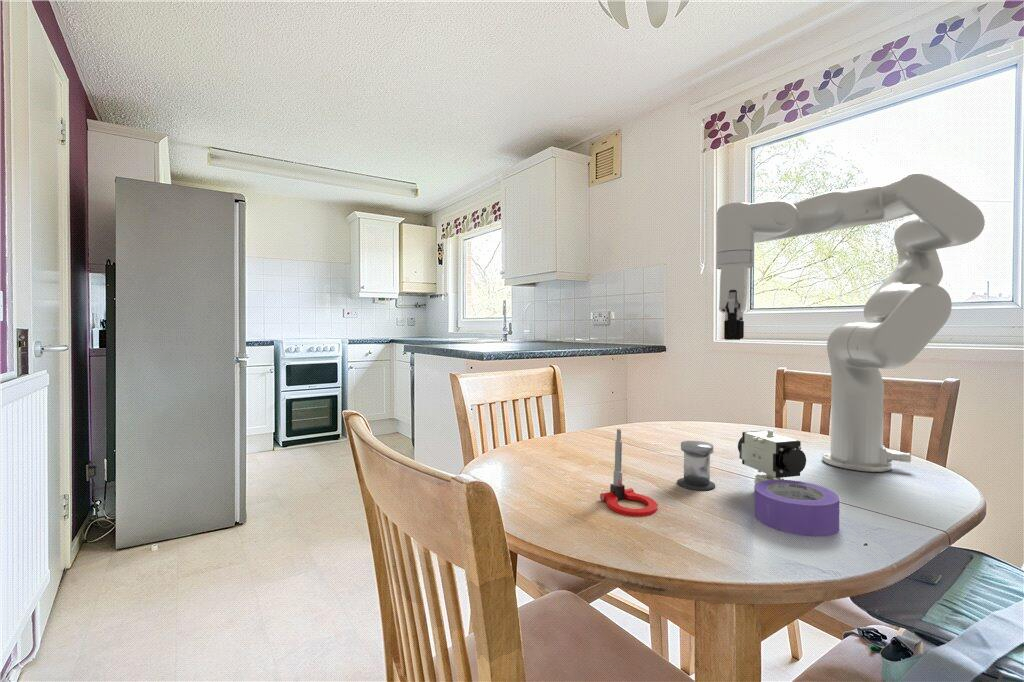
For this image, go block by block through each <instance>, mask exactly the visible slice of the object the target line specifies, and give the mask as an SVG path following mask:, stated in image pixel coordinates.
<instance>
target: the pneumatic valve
mask: <svg viewBox="0 0 1024 682" xmlns="http://www.w3.org/2000/svg"><path fill="white" fill-rule="evenodd" d="M737 450H738V452H739V455H738V456H739V457H738V458H739V459H740V460H741V464H742V465H743V466H747V467H749V468H752V469H754V470H757V472H758V473H764V474H756V475H755V479H754V485H755V484H756V483H758V482H761V481H765V480H785V479H784V478H793V477H800V476H801V472H803V470H804V469H805V467H806V465H807V456H806V454H805V452H804V451H803V450H802V445H801V440H797V439H793V438H790V437H787V436H783V435H779V434H775V433H774V430H771V429H768V430H767V431H765V430H754V431H752V430H751V431H742V435H741V437H740V438H739V440H738V443H737Z"/></svg>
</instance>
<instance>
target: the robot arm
mask: <svg viewBox="0 0 1024 682" xmlns="http://www.w3.org/2000/svg"><path fill="white" fill-rule="evenodd" d="M984 216H985V215H984V214H983V212H982V210H981V209H980V207H978V206H977V205H976V204H975V203H973V201H971V200H969V199H968V198H966V197H965V196H963V195H962V194H960V193H959V192H958V191H956V190H955V189H953V188H952V187H950V186H948V185H947V184H946V183H944V182H942V181H941V180H940V179H938V178H935V177H933V176H932V175H929V174H926V173H923V172H918V171H917V172H915V171H914V172H913V171H912V172H909V173H905V174H903V175H900V176H897V177H895V178H893V179H892V178H891V179H890V180H889V179H888V180H887V181H884V182H880V183H875V184H873V183H872V184H868V185H867V184H866V185H863V186H856V187H850V188H844V189H843V188H842V189H836V190H830V191H827V192H823V193H820V194H817V195H814V196H811V197H810V198H806V199H804V200H801V201H797V202H794V203H791V202H789V201H787V200H782V199H775V200H767V201H761V202H753V203H751V202H745V201H741V202H740V201H738V202H737V201H736V202H730V203H726V204H723V205H721V206H720V207H719V208H718V209H717V211H716V256H715V258H716V261H715V262H716V265H715V266H716V267H715V269H717V270H720V279H719V300H718V301H719V303H718V310H719V312H721V313H725V316H724V317H725V318H724V321H723V323H724V324H723V325H724V327H723V332H724V334H723V339H724V340H726V341H727V340H731V341H736V340H737V341H738V340H739V341H740V340H741V339H743V338H744V336H745V332H744V329H745V321H744V314H743V313H745V312H746V310H747V301H748V282H749V281H748V280H749V279H748V278H749V277H748V274H749V273H748V272H749V271H748V269H751V268H754V267H755V244H756V243H757V244H759V243H765V242H769V241H772V242H773V241H777V240H784V239H789V238H795V237H800V236H806V235H814V234H815V235H816V234H821V233H826V232H831V231H838V230H844V229H848V228H854V227H855V228H856V227H861V226H868V225H874V224H875V225H876V224H880V223H886V222H887V223H888V222H891V221H894V220H897V219H902V218H905V217H907V218H906V219H903V220H902V221H901V222H900V223H899V224H898V225H897V227H896V229H895V231H894V235H893V240H894V246H895V249H896V252H897V259H898V260H897V264H896V266H895V268H894V269H893V271H892V272H891V273H890V275H889V276H888V277H887V278H886V279H885V280H884V282H883V283H882V284H881V285H879V287H878V288H877V289H876V290H875V292H874V293H873V294H872V295H871V296H870V298H869V299H867V301H866V303H865V305H864V306H863V317H864V319H865V321H866V322H849V323H845V324H842V325H840V326H838V327H836V328H835V329H834V330H832V331H831V333H830V335H829V336H828V338H827V343H826V349H827V350H826V351H827V356H828V361H829V367H830V376H831V382H830V383H831V389H830V391H831V392H830V393H831V396H830V402H831V403H830V451H828V452H825V453H822V455H821V457H822V461H823V462H824V463H826V464H829V465H830V466H834V467H838V468H841V469H846V470H847V469H848V470H852V471H858V472H859V471H860V472H868V473H871V472H872V473H876V472H877V473H880V472H881V473H883V472H888V471H890V470H892V467H893V466H892V462H893V461H895V462H897V461H898V462H901V463H909V464H910V463H911V461H912V456H911V453H910V452H901V451H898V450H891V449H887V447H886V446H885V445H884V406H885V405H884V403H885V402H884V399H885V386H884V380H883V377H882V374H881V372H880V369H883V370H895V369H900V368H903V367H905V366H907V365H908V364H910V363H911V362H912V361H913V360H914V359H915V358H916V357H917V356H918V355H919V354H920V353H921V352H922V351H923V350H924V348H925V347H926V346H927V345H928V344H929V343H930V342H931V340H932V339H934V337H935V336H936V335H937V333H939V332H940V331H941V330H942V328H943V327H944V325H945V324H946V323H947V321H948V320H949V319H950V316H951V312H952V306H953V305H952V304H953V303H952V298H951V295H950V294H949V292H948V291H947V290H946V289H945V288H944V287H942V286H940V283H941V282H942V280H943V276H944V275H943V274H944V272H943V271H944V270H943V266H942V263H941V261H940V257H939V254H938V252H937V250H939V249H944V248H952V247H956V246H957V247H958V246H961V245H965V244H969V243H971V242H973V241H975V240H976V239H977V238H978V237H979V236H980V235H981V234H982V232H983V231H984V229H985V225H986V223H985V221H986V220H985V217H984Z"/></svg>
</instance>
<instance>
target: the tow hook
mask: <svg viewBox="0 0 1024 682" xmlns="http://www.w3.org/2000/svg"><path fill="white" fill-rule="evenodd" d="M614 444H615V446H614V470H613V481H612V483H610V484H609V485H610V486H609V487H610V488H609V489H610V490H609V491H608V492H603V493H600V496H599V499H600V501H601V502H602V503H603V502H606V503H607V507H608V508H609V509H610V510H611V511H613V512H615V513H617V514H620V515H624V516H629V517H646V516H651V515H654V514H655V513H656V512H657V511H658V503H657V501H656V500H655V499H653V498H651V497H650V496H647V495H644V494H640V493H636V492H635V490H634V489H633V488H631V487H630V488H626V489H625V487H626V486H625V485H624V484H623V471H622V458H623V457H622V455H623V453H622V451H623V440H622V429H621V428H617V429H616V440H615V443H614ZM624 498H626V499H627V500H630V501H631V500H632V501H638V502H640V503H643V504H645V505H646V506H645V507H642V508H630V507H626V506H623V505H621V504H619V503H618V501H619V500H622V499H624Z"/></svg>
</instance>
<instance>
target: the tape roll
mask: <svg viewBox="0 0 1024 682" xmlns="http://www.w3.org/2000/svg"><path fill="white" fill-rule="evenodd" d="M753 487H754V488H753V489H754V490H753V493H754V496H753V497H754V501H753V502H754V503H753V507H754V510H753V513H754V515H755V516H754V518H755V517H756V518H755V519H756V520H757V521H758V522H759V521H760V522H759V523H761V524H762V523H763V525H764V526H767V527H768V528H771V529H773V528H774V530H776V529H777V530H776V531H780V532H782V531H783V532H784V533H786V534H790V533H791V534H790V535H796V536H802V537H803V536H804V537H815V538H816V537H817V538H818V537H820V538H821V537H831V536H834V535H836V534H837V533H839V532H838V531H840V496H839V494H837V493H836V492H835V491H833V490H831V489H829V488H826V487H824V486H821V485H817V484H815V483H810V482H806V481H799V480H793V479H792V480H790V479H784V480H765V481H761V482H758V483H756V484H755V483H754V486H753Z"/></svg>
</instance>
